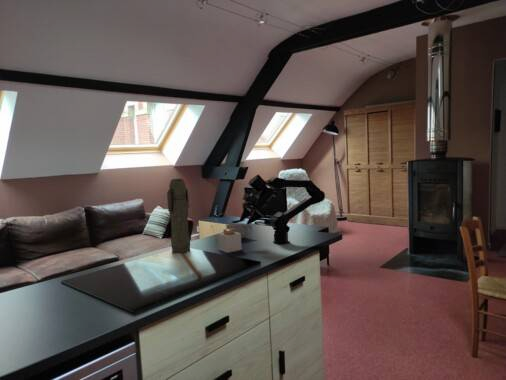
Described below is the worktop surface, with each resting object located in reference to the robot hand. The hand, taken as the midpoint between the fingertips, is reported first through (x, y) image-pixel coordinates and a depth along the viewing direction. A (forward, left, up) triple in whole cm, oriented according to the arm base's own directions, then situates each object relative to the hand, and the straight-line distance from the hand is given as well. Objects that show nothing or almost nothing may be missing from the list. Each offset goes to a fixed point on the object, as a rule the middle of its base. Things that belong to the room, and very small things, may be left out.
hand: (243, 222), depth 188 cm
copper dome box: (+7, -2, -13) cm, 15 cm away
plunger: (+7, -2, -10) cm, 12 cm away
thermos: (+26, -16, -13) cm, 33 cm away
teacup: (-10, -20, -13) cm, 25 cm away
